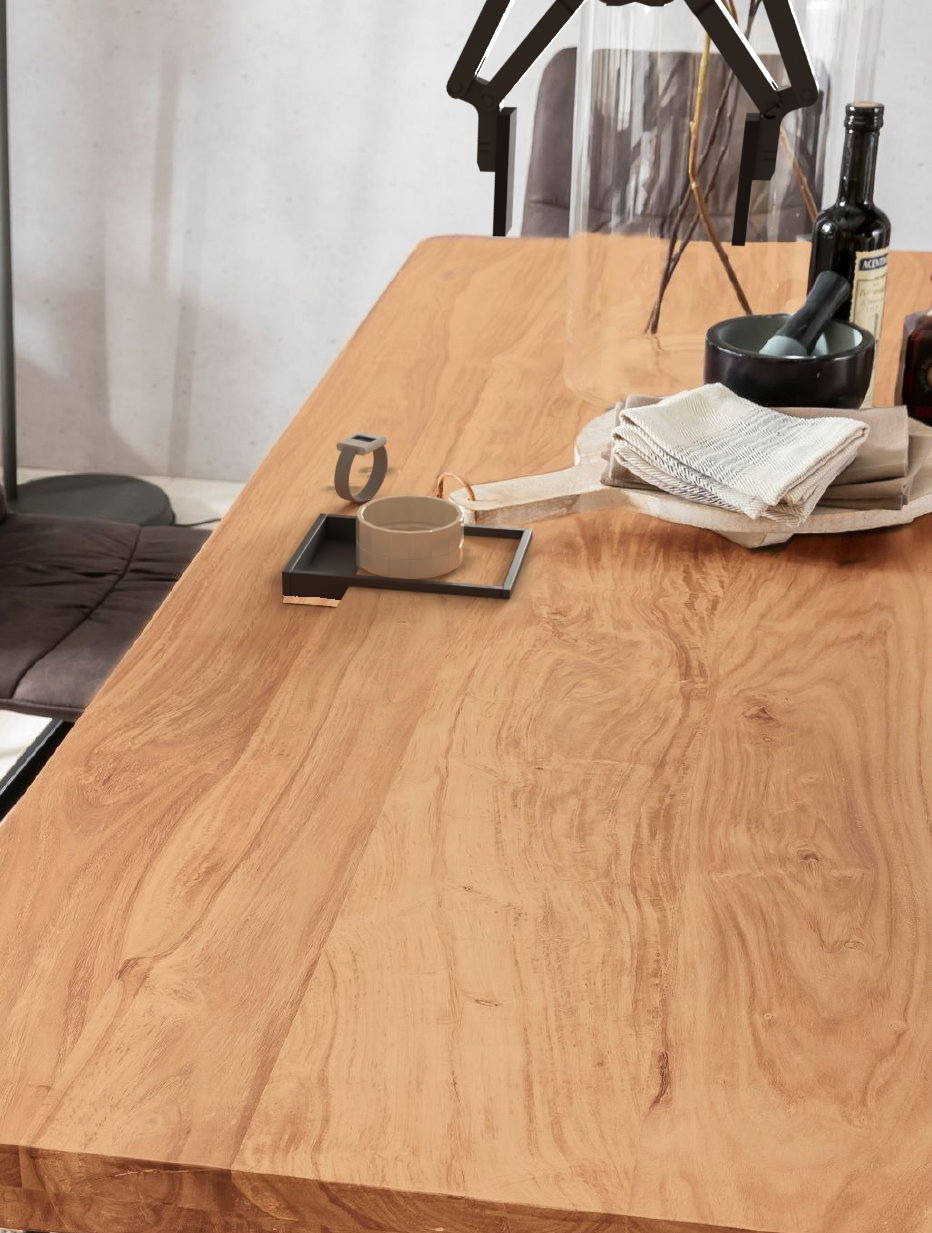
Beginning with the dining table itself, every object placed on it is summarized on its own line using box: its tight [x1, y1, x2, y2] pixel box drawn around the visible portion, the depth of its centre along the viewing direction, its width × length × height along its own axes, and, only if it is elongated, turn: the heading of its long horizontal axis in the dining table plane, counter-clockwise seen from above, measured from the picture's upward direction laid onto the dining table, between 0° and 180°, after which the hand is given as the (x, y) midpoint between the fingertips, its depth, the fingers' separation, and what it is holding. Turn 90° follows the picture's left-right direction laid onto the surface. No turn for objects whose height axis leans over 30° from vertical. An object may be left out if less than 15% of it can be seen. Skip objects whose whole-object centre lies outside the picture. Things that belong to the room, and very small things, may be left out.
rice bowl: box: [355, 494, 465, 580], centre depth 124 cm, size 8×8×4 cm
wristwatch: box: [333, 431, 389, 504], centre depth 138 cm, size 6×3×5 cm, turn 146°
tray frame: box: [281, 512, 534, 601], centre depth 125 cm, size 16×12×2 cm
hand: (618, 237), depth 100 cm, fingers open, 13 cm apart
